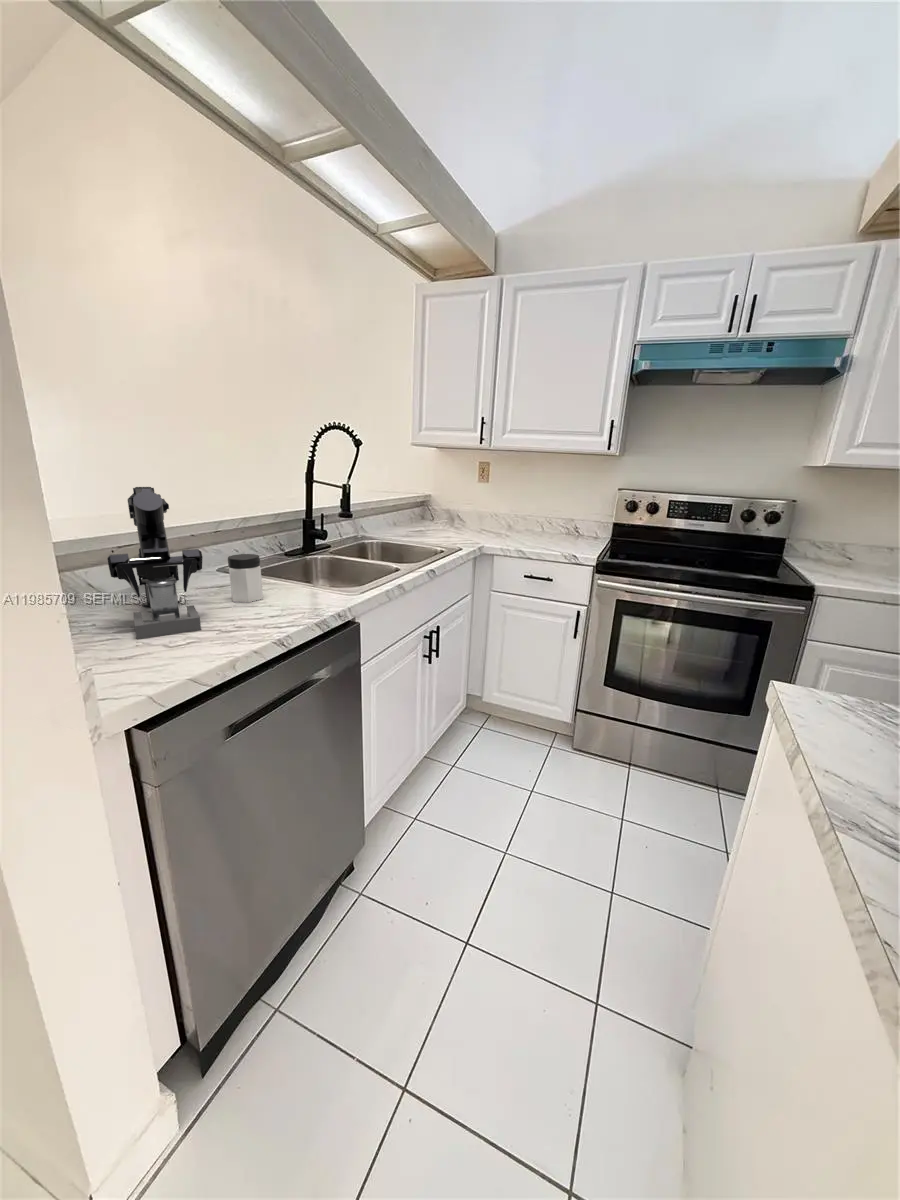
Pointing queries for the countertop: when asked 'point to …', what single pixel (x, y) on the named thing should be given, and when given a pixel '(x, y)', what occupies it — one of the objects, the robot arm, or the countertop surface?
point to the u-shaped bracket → (167, 624)
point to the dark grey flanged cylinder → (163, 597)
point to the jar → (245, 577)
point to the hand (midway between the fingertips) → (162, 593)
